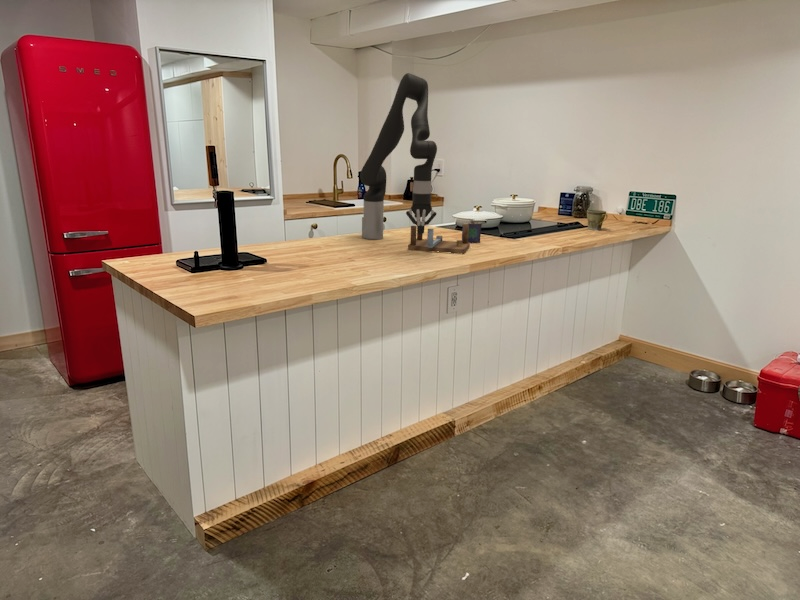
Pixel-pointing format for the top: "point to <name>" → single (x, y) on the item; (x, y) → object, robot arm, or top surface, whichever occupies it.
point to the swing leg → (430, 239)
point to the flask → (473, 232)
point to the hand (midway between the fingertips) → (420, 234)
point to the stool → (440, 243)
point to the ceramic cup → (595, 219)
